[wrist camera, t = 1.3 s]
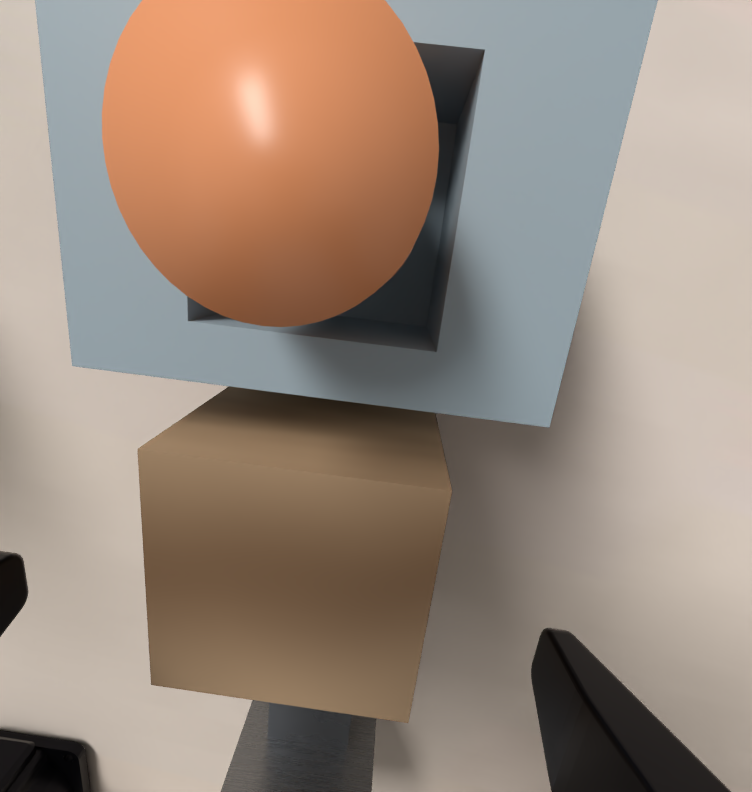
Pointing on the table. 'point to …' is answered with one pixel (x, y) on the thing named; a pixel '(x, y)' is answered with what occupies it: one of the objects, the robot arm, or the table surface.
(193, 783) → the table surface
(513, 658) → the table surface
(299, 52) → the brown egg
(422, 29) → the blue grey open box
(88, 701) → the table surface
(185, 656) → the block
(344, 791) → the rail
